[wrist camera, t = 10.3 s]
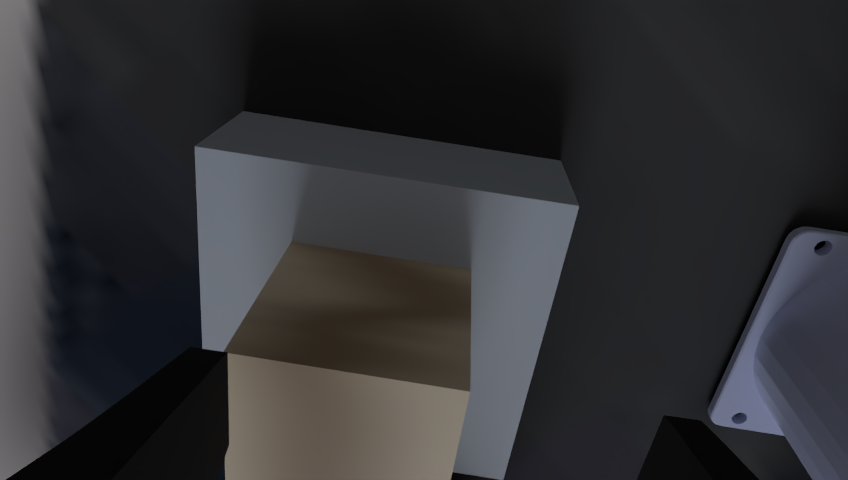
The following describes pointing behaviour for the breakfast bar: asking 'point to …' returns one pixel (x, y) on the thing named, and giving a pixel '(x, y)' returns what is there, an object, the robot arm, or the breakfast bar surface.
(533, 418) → the breakfast bar surface
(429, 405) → the maple cube
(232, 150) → the grey base block
